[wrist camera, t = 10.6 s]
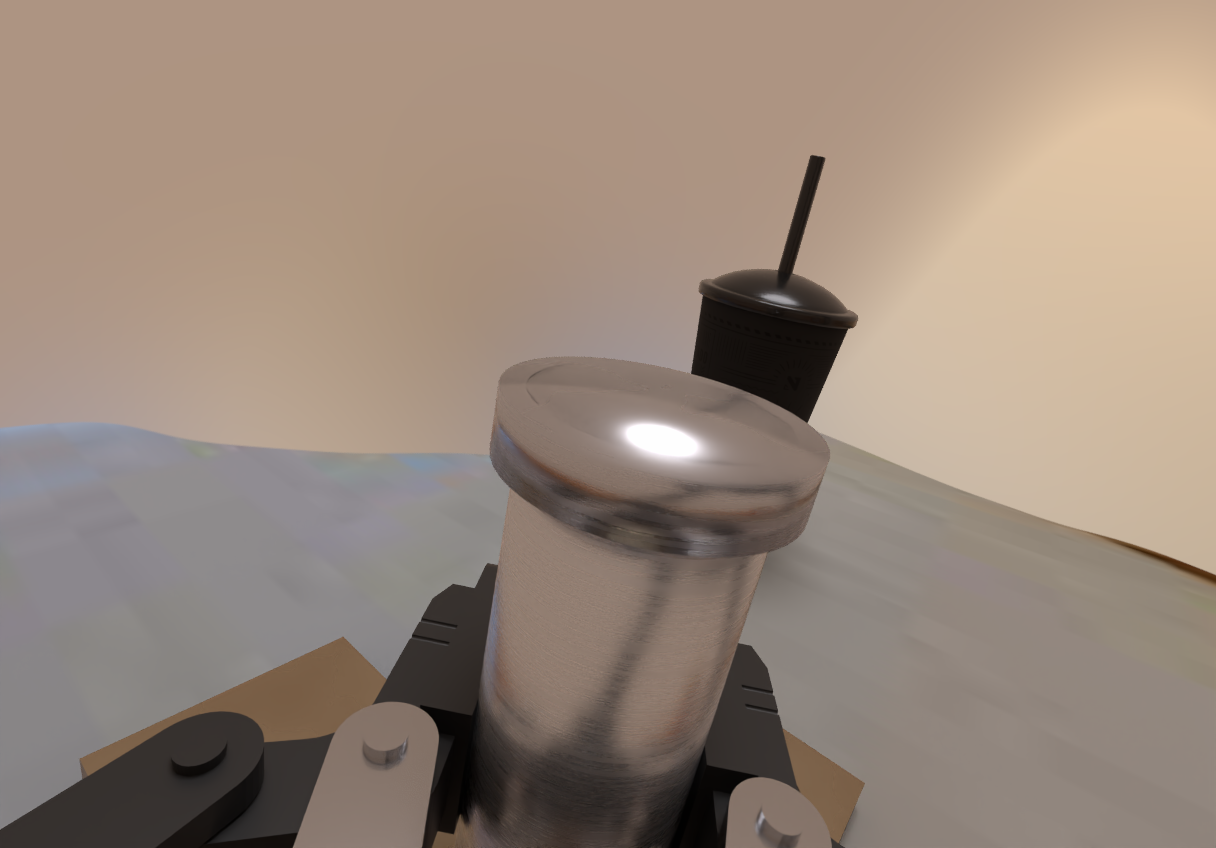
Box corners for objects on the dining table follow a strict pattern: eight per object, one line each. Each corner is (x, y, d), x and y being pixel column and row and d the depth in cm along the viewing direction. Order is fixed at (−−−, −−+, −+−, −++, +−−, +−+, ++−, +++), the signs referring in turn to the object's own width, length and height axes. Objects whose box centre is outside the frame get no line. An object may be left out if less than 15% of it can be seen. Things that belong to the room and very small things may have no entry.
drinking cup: (618, 508, 35) (701, 136, 28) (721, 500, 39) (816, 169, 32) (692, 587, 29) (820, 138, 22) (805, 569, 33) (945, 178, 26)
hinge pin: (519, 867, 14) (628, 348, 10) (659, 1015, 12) (870, 436, 8) (362, 1028, 11) (424, 370, 7) (514, 1263, 9) (737, 524, 5)
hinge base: (518, 572, 28) (531, 495, 26) (854, 805, 19) (898, 711, 18) (83, 787, 16) (65, 664, 14) (487, 1637, 7) (536, 1543, 6)
